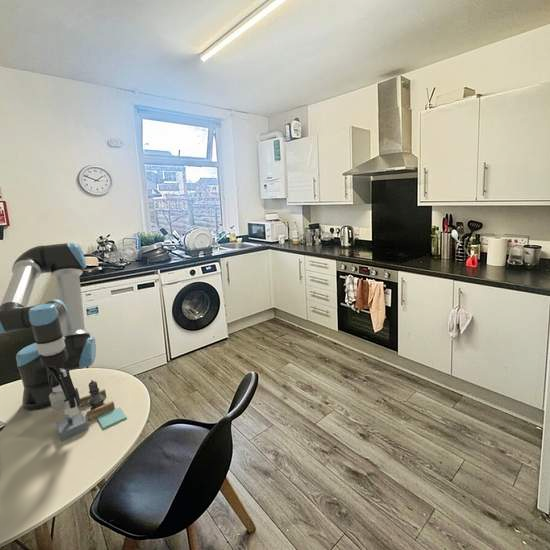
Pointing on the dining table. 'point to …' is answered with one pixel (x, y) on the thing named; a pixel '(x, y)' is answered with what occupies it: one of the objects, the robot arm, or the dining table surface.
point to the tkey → (62, 402)
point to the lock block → (71, 426)
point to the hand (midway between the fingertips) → (67, 408)
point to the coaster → (111, 418)
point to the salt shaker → (95, 396)
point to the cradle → (99, 410)
